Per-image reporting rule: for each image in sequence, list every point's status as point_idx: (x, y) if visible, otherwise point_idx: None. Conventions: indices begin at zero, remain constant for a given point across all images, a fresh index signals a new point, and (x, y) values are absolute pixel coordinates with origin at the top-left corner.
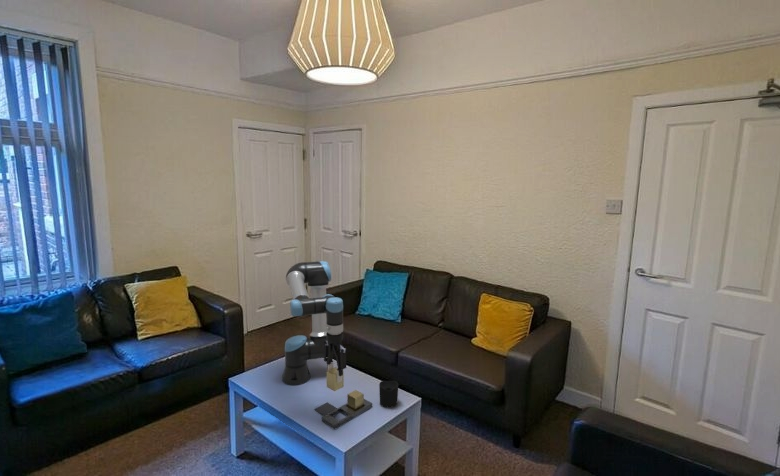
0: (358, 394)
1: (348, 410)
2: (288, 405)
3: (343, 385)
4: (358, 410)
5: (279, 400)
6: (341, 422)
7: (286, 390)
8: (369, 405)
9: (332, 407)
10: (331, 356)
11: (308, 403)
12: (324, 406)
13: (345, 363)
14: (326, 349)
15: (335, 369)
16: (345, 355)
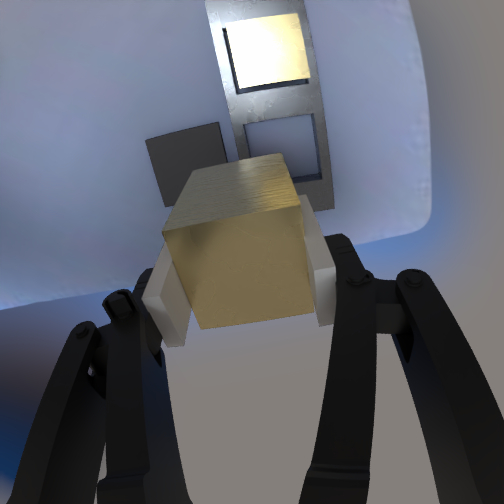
0: (283, 38)
1: (282, 103)
2: (98, 264)
3: (281, 155)
4: (312, 67)
5: (63, 274)
6: (330, 170)
7: (18, 235)
8: (303, 2)
9: (195, 138)
10: (159, 409)
11: (112, 204)
12: (169, 165)
13: (450, 328)
14: (89, 492)
15: (217, 258)
16: (501, 433)
